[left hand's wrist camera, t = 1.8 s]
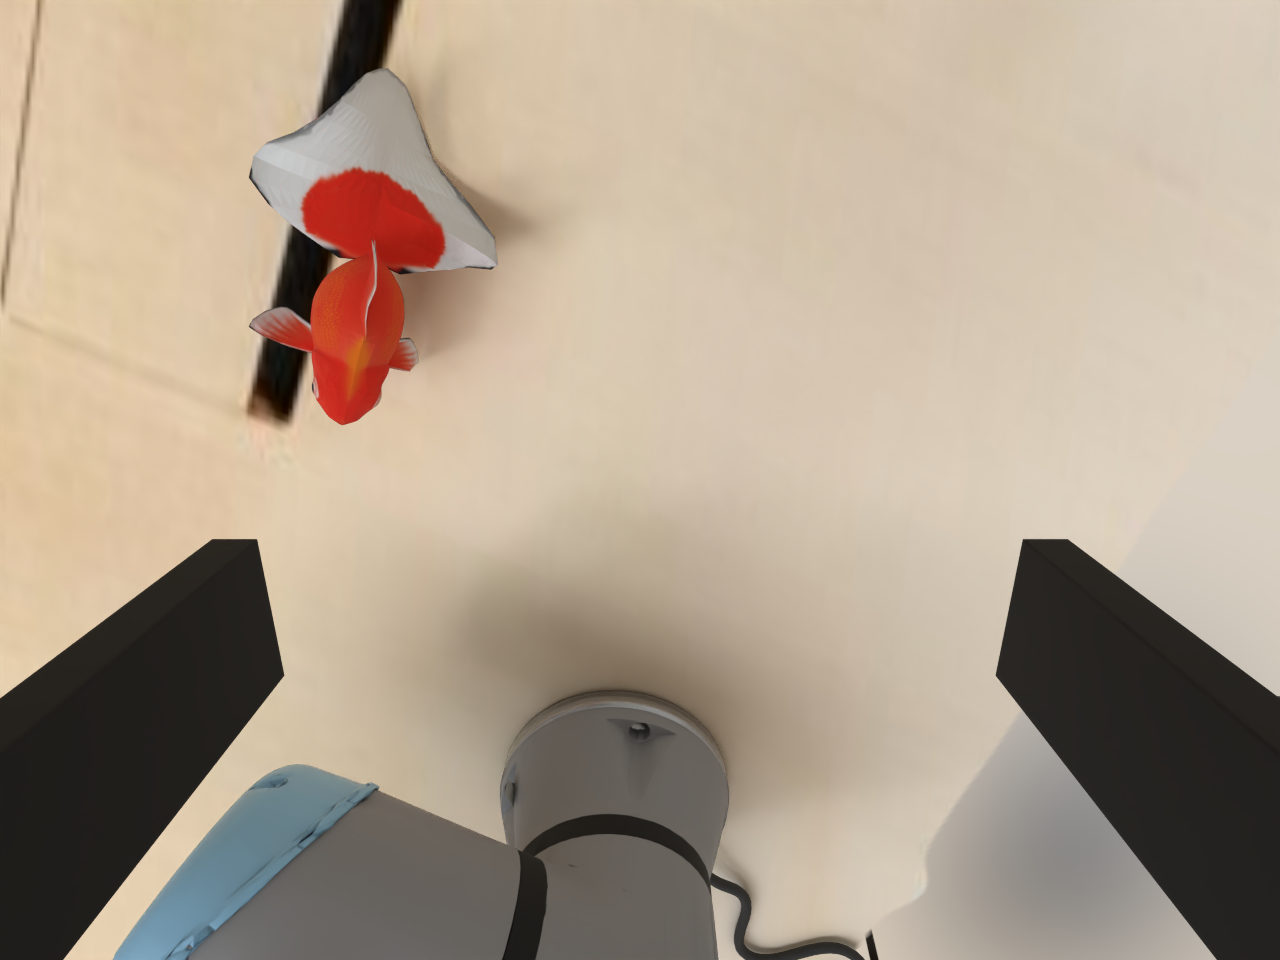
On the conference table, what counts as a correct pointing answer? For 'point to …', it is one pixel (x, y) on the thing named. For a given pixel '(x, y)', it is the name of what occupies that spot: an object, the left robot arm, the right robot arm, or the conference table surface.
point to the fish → (364, 235)
